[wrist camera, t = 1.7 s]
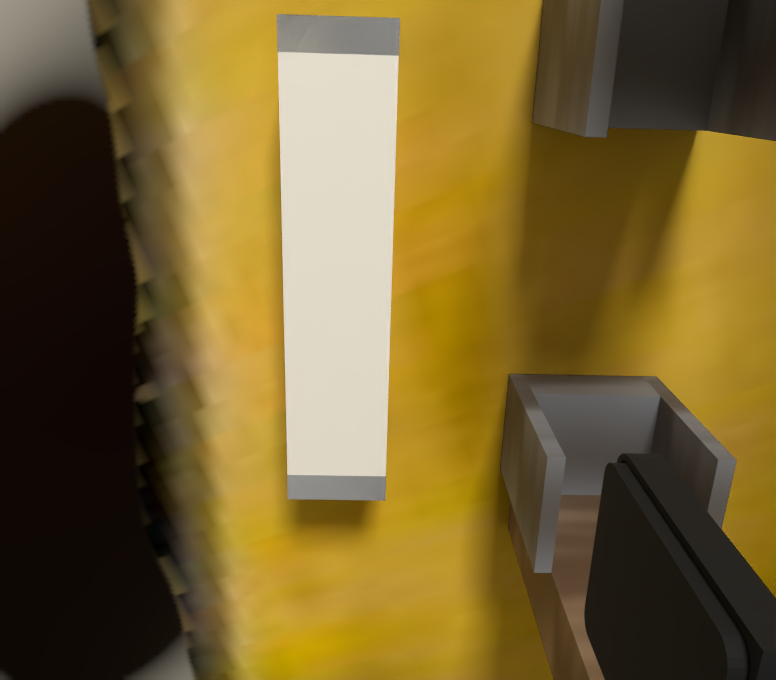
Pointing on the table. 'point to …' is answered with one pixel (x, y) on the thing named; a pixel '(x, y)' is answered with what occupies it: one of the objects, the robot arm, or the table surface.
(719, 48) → the posts
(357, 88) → the rail
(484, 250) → the table surface
